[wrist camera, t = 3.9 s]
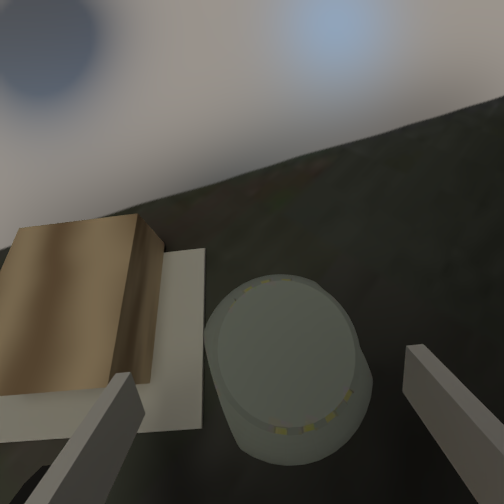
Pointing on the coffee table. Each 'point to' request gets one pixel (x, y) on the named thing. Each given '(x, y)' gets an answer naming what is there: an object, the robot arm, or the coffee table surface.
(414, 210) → the coffee table surface
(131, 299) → the base block
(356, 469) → the coffee table surface
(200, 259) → the mat
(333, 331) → the air freshener
